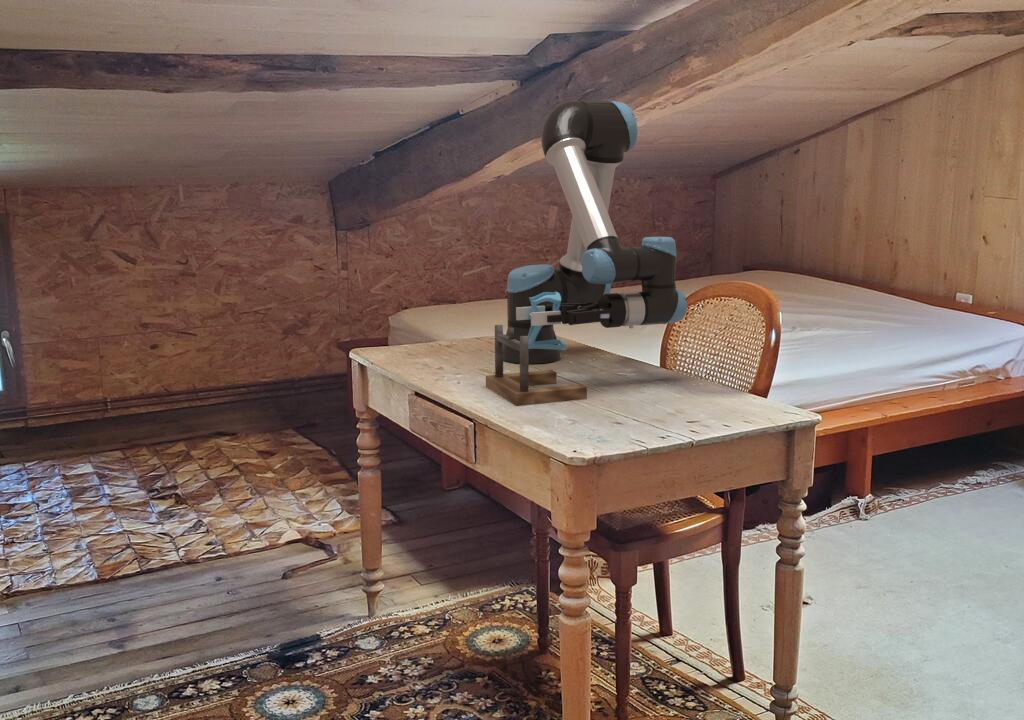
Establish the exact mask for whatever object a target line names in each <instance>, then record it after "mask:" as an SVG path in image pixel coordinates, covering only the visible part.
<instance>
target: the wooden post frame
mask: <svg viewBox="0 0 1024 720" xmlns="http://www.w3.org/2000/svg"><path fill="white" fill-rule="evenodd" d="M507 328H508V327H507ZM503 344H505V345H507V346H509V347H511V348H514V349H516V350H518V351H520V363H519V372H513V373H512V372H511V373H504V360H503ZM529 365H530V364H529V343H528V336H520V341H518V340H515V339H514V328H508V336H507V335H506V334H504V325H503V324H494V374H488V375H485V388H487V389H489V390H490V391H492V392H494V393H496V394H497V395H498V396H500V397H502V398H503V399H504V400H506V401H508V402H510V403H512V404H513V405H514V406H516V407H519V406H528V405H529V406H531V405H539V404H546V403H548V404H550V403H559V402H569V401H577V400H586V399H588V387H587V386H585V385H583V384H581V383H580V384H573V385H562V386H561V385H560V386H559V385H558V386H551V387H541V388H529V387H531V386H540V385H550V384H558V382H557V380H558V378H557V377H558V376H557V375H558V374H557V371H555V370H553V369H546V370H534V371H529V369H530V368H529Z"/></svg>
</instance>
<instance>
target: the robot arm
mask: <svg viewBox="0 0 1024 720" xmlns="http://www.w3.org/2000/svg"><path fill="white" fill-rule="evenodd" d="M540 137H541V140H540V141H541V148H542V152H543V154H544V157H545V159H546V162H547V163H548V164H549V165H551V166H553V169H554V171H555V173H556V176H557V179H558V181H559V183H560V186H561V188H562V191H563V194H564V197H565V199H566V203H567V204H568V207H569V210H570V212H571V215H572V216H571V222H570V229H569V235H568V236H569V237H568V242H567V244H568V245H567V250H566V253H565V254H564V255H563V256H562V257H560V259H559V264H558V268H557V269H555V268H554V266H553V265H552V264H548V263H547V264H545V263H543V264H532V265H523V266H520V267H516V268H514V269H512V270H511V271H510V272H509V273H508V275H507V282H506V291H507V293H506V295H507V296H506V299H507V306H506V307H507V312H506V313H507V329H506V332H505V335H507V336H508V328H514V339H515V340H518V341H520V336H528V334H529V330H530V327H531V326H539V325H543V326H542V328H541V329H540V331H539V333H538V335H537V337H536V339H535V341H545V340H558V338H557V335H556V332H555V329H554V328H555V327H554V325H561V324H563V325H567V324H568V325H569V326H574V325H583V324H593V323H594V324H595V323H600V324H601V326H602V327H604V328H606V329H610V328H611V329H613V328H620V327H629V329H634V326H648V325H649V326H650V325H667V324H671V323H678V322H681V321H682V320H683V319H684V318H685V317H686V314H687V311H688V302H687V300H686V299H687V298H686V294H685V293H684V291H682V289H681V290H680V289H677V287H676V271H677V269H676V267H677V258H678V257H677V246H676V240H675V239H674V238H673V237H671V236H648V237H647V236H646V237H643V238H642V241H641V246H631V247H629V246H628V247H627V246H626V247H623V246H622V244H621V243H620V242H621V241H620V240H619V237H618V234H617V232H616V230H615V227H614V225H613V222H612V221H611V217H610V215H609V207H610V200H611V195H612V189H613V183H614V177H615V171H616V168H617V167H618V166H620V165H621V164H622V163H623V160H624V155H625V153H627V152H630V151H631V150H632V149H633V148H634V147H635V145H636V143H637V139H638V123H637V119H636V117H635V113H634V112H633V110H632V109H631V107H630V106H629V105H627V104H626V103H624V102H619V101H614V100H577V99H576V100H574V99H573V100H566V101H564V102H560V103H559V104H557V106H554V107H553V109H551V111H550V112H549V114H548V115H547V117H546V118H545V120H544V121H543V125H542V129H541V136H540ZM627 282H641V290H640V291H626V292H625V291H624V292H614V293H613V292H612V293H611V290H612V284H614V283H627ZM543 292H552V293H553V292H558V293H559V294H560V296H561V303H560V307H559V311H553V302H550V301H545V302H542V303H539V304H537V305H536V306H537V309H538V312H533V313H531V310H532V306H531V302H530V299H529V298H531V297H535V296H537V295H539V294H541V293H543ZM556 307H557V304H556ZM529 313H531V318H529ZM551 345H560V344H551ZM560 359H561V350H556V349H529V365H530V364H532V365H534V364H535V365H537V364H546V363H553V362H556V361H559V360H560ZM504 361H505V362H507V363H513V364H520V351H518V350H516V349H514V348H511V347H509V346H507V345H505V344H503V362H504Z"/></svg>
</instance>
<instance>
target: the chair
mask: <svg viewBox="0 0 1024 720" xmlns="http://www.w3.org/2000/svg"><path fill="white" fill-rule="evenodd" d="M529 299H530V302H531V306H532V310H531V313H533V312H538V309H537V306H536V305H537V304H539V303H542V302H545V301H550V302H553V311H559V307H560V303H561V296H560V294H559V293H558V292H553V293H552V292H543V293H541V294H539V295H537V296H535V297H531V298H529ZM556 304H557V307H556ZM531 313H529V318H531ZM542 326H543V325H539V326H531V327H530V330H529V334H528V343H529V349H556V350H560V351H562V350H563V351H567V345H566V343H565V341H564V340H562V339H558V338H557V340H545V341H535V339H536V337H537V335H538V333H539V331H540V329H541V328H542ZM551 344H559V345H551Z"/></svg>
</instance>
